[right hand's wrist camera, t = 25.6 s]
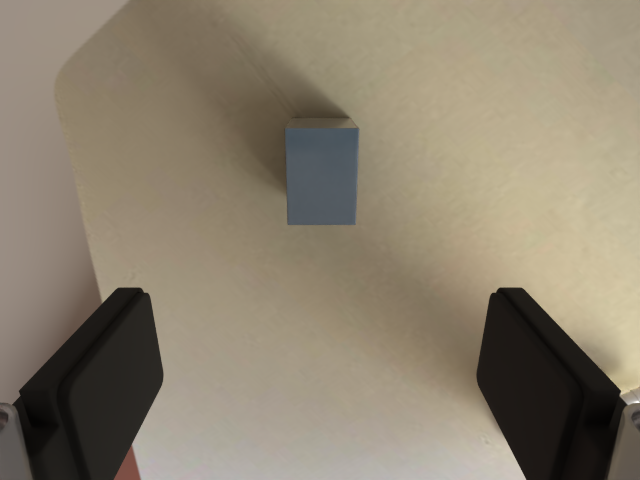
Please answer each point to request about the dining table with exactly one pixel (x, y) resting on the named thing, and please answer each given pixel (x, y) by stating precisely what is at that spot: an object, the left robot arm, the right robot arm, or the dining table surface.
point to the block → (321, 171)
